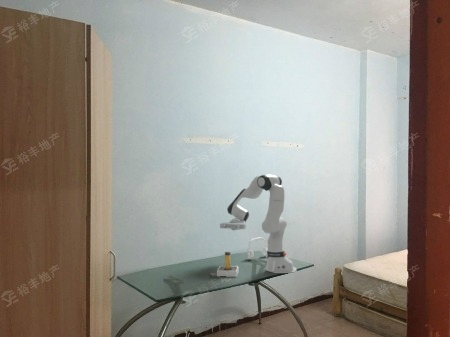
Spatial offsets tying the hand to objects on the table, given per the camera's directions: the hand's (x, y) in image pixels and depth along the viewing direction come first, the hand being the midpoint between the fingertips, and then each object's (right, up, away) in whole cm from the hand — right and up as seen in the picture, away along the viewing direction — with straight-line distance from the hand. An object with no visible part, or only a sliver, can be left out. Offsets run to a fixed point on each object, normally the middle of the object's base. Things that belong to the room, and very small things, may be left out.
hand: (230, 227), depth 257 cm
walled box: (-2, -32, -13) cm, 34 cm away
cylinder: (-2, -31, -13) cm, 33 cm away
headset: (+24, -33, +33) cm, 52 cm away
